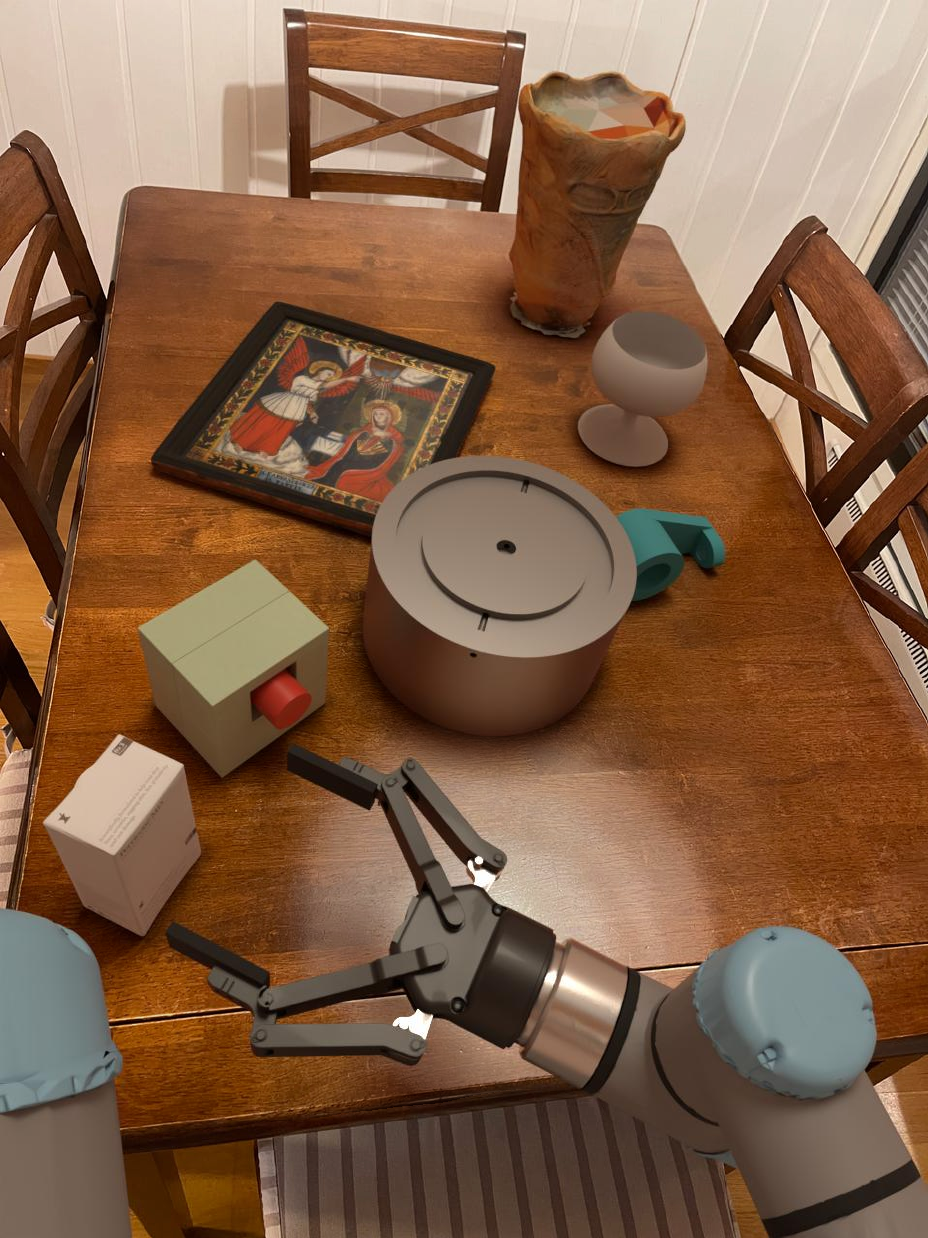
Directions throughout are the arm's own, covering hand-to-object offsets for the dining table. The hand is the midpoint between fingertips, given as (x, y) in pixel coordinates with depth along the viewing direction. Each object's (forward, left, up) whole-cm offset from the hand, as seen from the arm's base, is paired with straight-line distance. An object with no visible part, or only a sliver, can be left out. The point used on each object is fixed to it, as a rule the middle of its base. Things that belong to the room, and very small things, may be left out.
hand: (234, 838), depth 57 cm
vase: (+90, +43, -18) cm, 101 cm away
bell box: (+13, +17, -18) cm, 28 cm away
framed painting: (+47, +42, -18) cm, 65 cm away
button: (+13, +12, -12) cm, 21 cm away
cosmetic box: (-3, +9, -18) cm, 20 cm away
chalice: (+75, +18, -18) cm, 79 cm away
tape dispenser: (+59, +1, -18) cm, 61 cm away
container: (+37, +8, -18) cm, 42 cm away
